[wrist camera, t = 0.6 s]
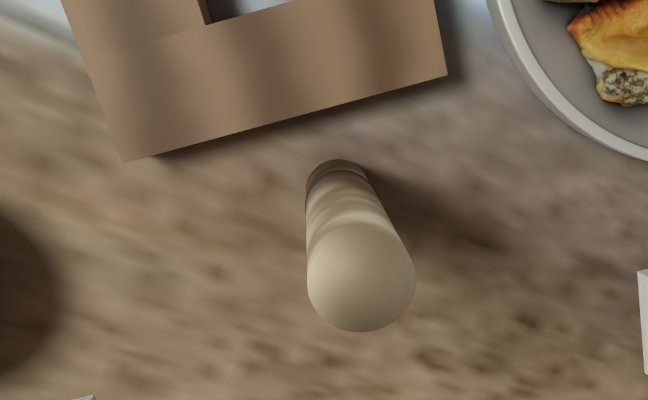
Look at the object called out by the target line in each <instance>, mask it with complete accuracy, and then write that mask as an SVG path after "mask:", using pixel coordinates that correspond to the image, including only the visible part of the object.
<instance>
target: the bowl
mask: <svg viewBox="0 0 648 400" xmlns="http://www.w3.org/2000/svg"><path fill="white" fill-rule="evenodd" d="M486 2H487V6H488V9H489V12H490V15H491V18H492V21H493V24H494V27H495V29H496V32H497V34H498V36H499V39H500V41H501V43H502V45H503V47H504V49H505V51H506V53H507V55H508V57H509V58H510V60H511V62H512V63H513V65H514V67H515V68H516V70H517V71H518V73H519V74H520V76H521V77H522V79H523V80H524V81H525V83H526V84H527V85H528V86H529V88H530V89H531V90H532V91H533V93H534V94H535V95H536V96H537V97H538V98H539V99H540V100H541V101H542V102H543V103H544V104H545V105H546V106H547V107H548V108H549V109H550V110H551V111H552V112H553V113H554V114H555V115H556V116H558V117H559V118H560V119H561V120H563V121H564V122H565V123H567V124H568V125H569V126H571V127H572V128H574V129H575V130H577V131H578V132H580V133H581V134H583V135H584V136H586V137H588V138H590V139H591V140H593V141H595V142H597V143H599V144H601V145H603V146H605V147H607V148H610V149H612V150H615V151H617V152H620V153H622V154H625V155H628V156H631V157H634V158H638V159H641V160H645V161H648V0H486Z"/></svg>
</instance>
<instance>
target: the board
mask: <svg viewBox="0 0 648 400" xmlns="http://www.w3.org/2000/svg"><path fill="white" fill-rule="evenodd" d="M61 3H62V5H63V8H64V11H65V13H66V16H67V18H68V21H69V24H70V26H71V29H72V32H73V34H74V37H75V39H76V42H77V45H78V47H79V50H80V52H81V55H82V58H83V60H84V63H85V65H86V68H87V71H88V73H89V76H90V78H91V81H92V84H93V86H94V89H95V91H96V94H97V97H98V99H99V102H100V104H101V107H102V110H103V112H104V115H105V118H106V120H107V123H108V125H109V128H110V131H111V133H112V136H113V138H114V141H115V144H116V146H117V149H118V151H119V154H120V157H121V159H122V162H123V163H127V162H131V161H134V160H138V159H142V158H145V157H149V156H153V155H156V154H160V153H164V152H167V151H171V150H175V149H178V148H182V147H186V146H189V145H193V144H197V143H200V142H204V141H208V140H211V139H215V138H219V137H222V136H226V135H230V134H233V133H237V132H241V131H244V130H248V129H252V128H255V127H259V126H263V125H266V124H270V123H274V122H277V121H281V120H285V119H288V118H292V117H296V116H299V115H303V114H307V113H310V112H314V111H318V110H321V109H325V108H329V107H332V106H336V105H340V104H343V103H347V102H351V101H354V100H358V99H362V98H366V97H369V96H373V95H377V94H380V93H384V92H388V91H391V90H395V89H399V88H402V87H406V86H410V85H413V84H417V83H421V82H424V81H428V80H432V79H435V78H439V77H443V76H446V75H448V73H447V68H446V63H445V57H444V52H443V47H442V42H441V36H440V31H439V26H438V21H437V15H436V10H435V5H434V0H295V1H291V2H288V3H284V4H280V5H277V6H273V7H270V8H266V9H263V10H259V11H255V12H252V13H248V14H245V15H241V16H238V17H234V18H231V19H227V20H223V21H220V22H216V23H214V22H213V19H212V16H211V13H210V9H209V6H208V3H207V0H61Z"/></svg>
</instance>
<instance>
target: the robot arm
mask: <svg viewBox="0 0 648 400" xmlns="http://www.w3.org/2000/svg"><path fill="white" fill-rule="evenodd" d="M637 275H638V288H639V302H640V316H641V329H642V343H643V357H644V370H645V373H646V374H647V375H648V269H645V270H641V271H637ZM73 400H96V398H95V395H90V396H86V397H81V398H77V399H73Z"/></svg>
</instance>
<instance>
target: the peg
mask: <svg viewBox="0 0 648 400" xmlns="http://www.w3.org/2000/svg"><path fill="white" fill-rule="evenodd" d="M305 211H306V231H307V286H308V293H309V298H310V300H311V303H312V305H313V307H314V308H315V310H316V311H317V312H318V314H319V315H320V316H321V317H322V318H323V319H324V320H326V321H327V322H328V323H330V324H331V325H333V326H335V327H337V328H340V329H343V330H346V331H352V332H368V331H373V330H377V329H380V328H383V327H385V326H387V325H389V324H390V323H392V322H394V321H395V320H396V319H397V318H399V317H400V316H401V315H402V314H403V313H404V311H405V310H406V309H407V308H408V306H409V304H410V302H411V300H412V298H413V296H414V292H415V288H416V273H415V268H414V265H413V262H412V260H411V258H410V256H409V254H408V252H407V250H406V249H405V247H404V245H403V243H402V241H401V239H400V238H399V236H398V234H397V232H396V230H395V228H394V227H393V225H392V223H391V221H390V219H389V217H388V216H387V214H386V212H385V210H384V208H383V206H382V204H381V203H380V201H379V199H378V197H377V194H376V192H375V190H374V188H373V187H372V185H371V184H370V182H369V181H368V179H367V177H366V175H365V174H364V172H363V171H362V170H361V169H360V168H359V167H358V166H357V165H355V164H354V163H352V162H349V161H346V160H340V159H336V160H330V161H327V162H324V163H322V164H321V165H319V166H318V167H317V168H315V170H314V171H313V172H312V173H311V175H310V176H309V178H308V181H307V185H306V202H305Z"/></svg>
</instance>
